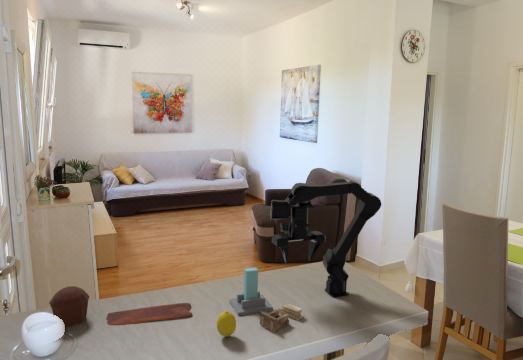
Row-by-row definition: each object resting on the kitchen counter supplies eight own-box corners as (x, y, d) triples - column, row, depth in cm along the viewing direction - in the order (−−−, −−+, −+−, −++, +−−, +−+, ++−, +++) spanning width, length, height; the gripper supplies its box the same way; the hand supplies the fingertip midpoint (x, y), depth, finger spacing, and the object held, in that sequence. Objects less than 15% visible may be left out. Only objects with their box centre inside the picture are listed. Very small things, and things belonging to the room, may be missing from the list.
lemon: (237, 340, 120) (238, 314, 119) (218, 343, 119) (218, 317, 118) (233, 330, 126) (233, 305, 124) (215, 333, 124) (215, 308, 123)
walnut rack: (275, 317, 134) (275, 305, 134) (289, 324, 130) (289, 312, 129) (259, 325, 129) (260, 312, 129) (274, 332, 125) (274, 319, 124)
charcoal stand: (262, 297, 148) (262, 287, 148) (272, 310, 139) (273, 300, 138) (229, 302, 144) (229, 292, 144) (238, 315, 135) (238, 305, 134)
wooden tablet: (190, 304, 143) (190, 300, 143) (193, 319, 134) (193, 314, 133) (107, 313, 136) (107, 308, 136) (104, 328, 126) (104, 323, 126)
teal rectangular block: (255, 300, 143) (255, 267, 141) (257, 303, 141) (258, 270, 139) (243, 302, 142) (244, 268, 140) (246, 305, 140) (246, 271, 138)
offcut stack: (283, 310, 140) (283, 301, 139) (303, 317, 135) (303, 309, 134) (277, 313, 138) (278, 304, 137) (298, 321, 133) (298, 312, 132)
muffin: (85, 327, 126) (84, 296, 124) (45, 330, 124) (43, 299, 122) (93, 309, 137) (91, 280, 136) (56, 311, 135) (54, 282, 133)
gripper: (312, 212, 158) (311, 251, 160) (266, 215, 151) (265, 257, 154) (327, 219, 148) (325, 262, 150) (278, 223, 141) (277, 267, 144)
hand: (297, 261), depth 150 cm, fingers open, 9 cm apart
